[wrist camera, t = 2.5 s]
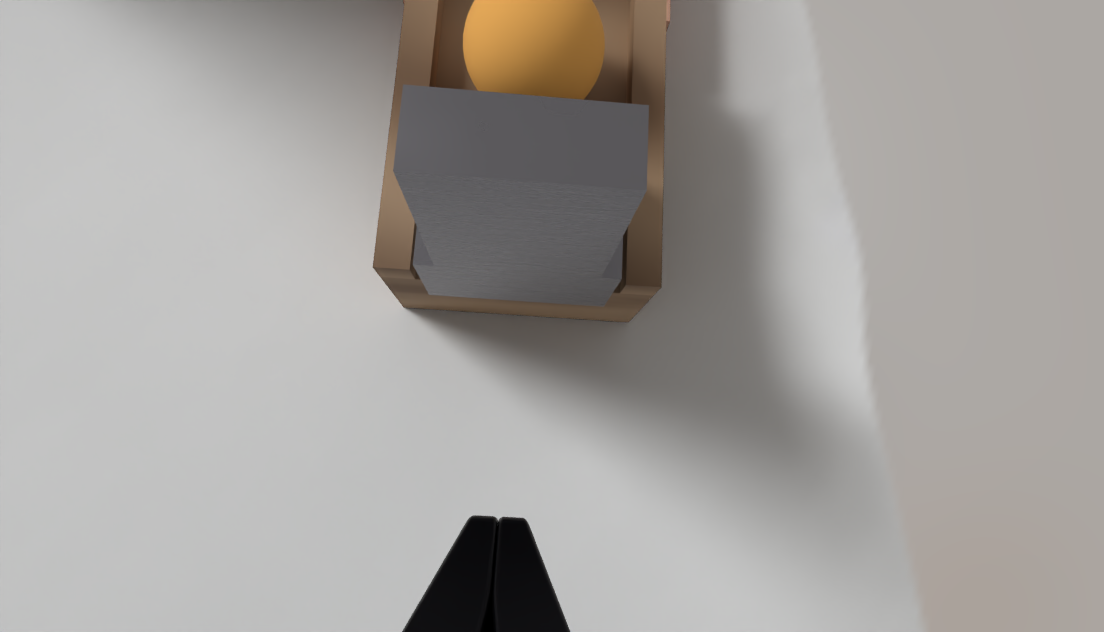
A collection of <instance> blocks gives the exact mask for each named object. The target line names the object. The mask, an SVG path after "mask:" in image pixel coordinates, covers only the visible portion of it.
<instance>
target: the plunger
mask: <svg viewBox="0 0 1104 632" xmlns="http://www.w3.org/2000/svg"><path fill="white" fill-rule="evenodd" d="M648 120H649V105H640V104H629V103H617V102H605V101H593V100H581V99H569V98H558V97H546V96H534V95H522V94H510V93H498V92H486V91H475V90H463V89H451V88H439V87H427V86H415V85H404V84H403V90H402V98H401V107H400V115H399V124H398V133H397V141H396V150H395V158H394V167H393V172H394V174H395V177H396V179H397V181H398V184H399V186H400V188H401V191H402V193H403V195H404V198H405V200H406V202H407V205H408V207H409V209H410V212H411V214H412V216H413V219H414V221H415V223H416V226H417V229H416V238H415V248H414V257H413V266H414V268H415V270H416V272H417V273H418V275H419V277H420V279H421V281H422V283H423V284H424V286H425V288H426V290H427V292H428V294H429V295H438V296H452V297H467V298H482V299H497V300H511V301H526V302H541V303H556V304H570V305H585V306H600V307H604V306H605V304H606V302H607V301H608V299H609V298H610V296H611V295H612V293H613V292H614V290H615V289H616V287H617V286H618V284H619V282H620V281H621V279H622V252H623V235H624V233H625V231H626V229H627V227H628V225H629V224H630V222H631V220H632V218H633V216H634V214H635V212H636V210H637V208H638V206H639V204H640V203H641V201H642V199H643V197H644V195H645V193H646V191H647V162H648Z"/></svg>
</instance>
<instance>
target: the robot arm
mask: <svg viewBox="0 0 1104 632" xmlns="http://www.w3.org/2000/svg"><path fill="white" fill-rule="evenodd" d="M402 632H570V630H569V627H568V625H567V622H566V619H565V617H564V614H563V612H562V609H561V607H560V604H559V601H558V599H557V596H556V594H555V591H554V588H553V586H552V583H551V581H550V578H549V575H548V573H547V570H546V568H545V565H544V563H543V560H542V557H541V555H540V552H539V550H538V547H537V544H536V542H535V539H534V537H533V534H532V531H531V529H530V526H529V524H528V522H527V521H526V519H524V518H515V517H502V518H500V519H499V521H498V520H497V518H496V517H493V516H476V515H475V516H471V517H470V518H469V519H468V520H467V522H466V524H465V525H464V527H463V529H462V530H461V532H460V534H459V536H458V537H457V539H456V541H455V542H454V544H453V546H452V547H451V549H450V551H449V553H448V554H447V556H446V558H445V559H444V561H443V563H442V565H441V566H440V568H439V570H438V571H437V573H436V575H435V577H434V578H433V580H432V582H431V583H430V585H429V587H428V588H427V590H426V592H425V594H424V595H423V597H422V599H421V600H420V602H419V604H418V606H417V607H416V609H415V611H414V612H413V614H412V616H411V618H410V619H409V621H408V623H407V624H406V626H405V628H404V629H403V631H402Z"/></svg>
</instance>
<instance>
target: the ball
mask: <svg viewBox="0 0 1104 632" xmlns="http://www.w3.org/2000/svg"><path fill="white" fill-rule="evenodd" d="M604 51H605V38H604V30H603V25H602V21H601V18H600V15H599V12H598V10H597V8H596V6H595V4H594V3H593V1H592V0H474V2H473V4H472V6H471V8H470V10H469V13H468V15H467V18H466V22H465V27H464V33H463V53H464V59H465V63H466V67H467V71H468V73H469V75H470V78H471V80H472V82H473V84H474V85H475V87H476V89H477V90H478V91H486V92H498V93H510V94H522V95H534V96H546V97H558V98H569V99H581V100H584V99H585V97H586V96H587V95H588V94H589V92H590V91H591V89H592V88H593V86H594V84H595V83H596V81H597V79H598V76H599V74H600V71H601V68H602V64H603V59H604Z"/></svg>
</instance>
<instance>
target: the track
mask: <svg viewBox="0 0 1104 632" xmlns="http://www.w3.org/2000/svg"><path fill="white" fill-rule="evenodd" d="M592 1H593V3H594V4H595V6H596V8H597V10H598V12H599V15H600V18H601V21H602V25H603V30H604V38H605V51H604V59H603V64H602V68H601V71H600V74H599V76H598V79H597V81H596V83H595V84H594V86H593V88H592V89H591V91H590V92H589V94H588V95H587V96H586V97H585V99H584V100H593V101H605V102H617V103H629V104H640V105H649V120H648V162H647V191H646V193H645V195H644V197H643V199H642V201H641V203H640V204H639V206H638V208H637V210H636V212H635V214H634V216H633V218H632V220H631V222H630V224H629V225H628V227H627V229H626V231H625V233H624V235H623V252H622V279H621V281H620V282H619V284H618V286H617V287H616V289H615V290H614V292H613V293H612V295H611V296H610V298H609V299H608V301H607V302H606V304H605V306H604V307H600V306H585V305H570V304H556V303H541V302H526V301H511V300H497V299H482V298H467V297H452V296H438V295H429V294H428V292H427V290H426V288H425V286H424V284H423V283H422V281H421V279H420V277H419V275H418V273H417V272H416V270H415V268H414V266H413V257H414V248H415V238H416V229H417V226H416V223H415V221H414V219H413V216H412V214H411V212H410V209H409V207H408V205H407V202H406V200H405V198H404V195H403V193H402V191H401V188H400V186H399V184H398V181H397V179H396V177H395V174H394V172H393V167H394V158H395V150H396V141H397V133H398V124H399V115H400V107H401V98H402V90H403V84H404V85H415V86H427V87H439V88H451V89H463V90H475V91H478V90H477V89H476V87H475V85H474V84H473V82H472V80H471V78H470V75H469V73H468V71H467V67H466V63H465V59H464V53H463V33H464V27H465V22H466V18H467V15H468V13H469V10H470V8H471V6H472V4H473V2H474V0H405V3H404V11H403V20H402V28H401V36H400V45H399V53H398V61H397V70H396V78H395V86H394V95H393V103H392V111H391V120H390V128H389V136H388V145H387V153H386V161H385V170H384V178H383V186H382V195H381V203H380V211H379V220H378V228H377V236H376V245H375V253H374V261H373V268H374V269H375V271H376V272H377V273H378V275H379V276H380V277H381V278H382V280H383V281H384V282H385V284H386V285H387V286H388V288H389V289H390V290H391V291H392V293H393V294H394V295H395V297H396V298H397V299H398V300H399V302H400V303H401V304H402V306H403V307H406V308H421V309H436V310H451V311H466V312H481V313H496V314H511V315H526V316H541V317H556V318H571V319H586V320H601V321H616V322H629V321H630V320H631V319H632V318H633V317H634V316H635V315H636V314H637V313H638V312H639V311H640V310H641V309H642V307H643V306H644V305H645V304H646V303H647V302H648V301H649V300H650V299H651V298H652V297H653V296H654V295H655V294H656V292H657V291H658V290H659V289H660V288H661V280H662V225H663V170H664V115H665V60H666V4H667V0H592Z"/></svg>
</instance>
